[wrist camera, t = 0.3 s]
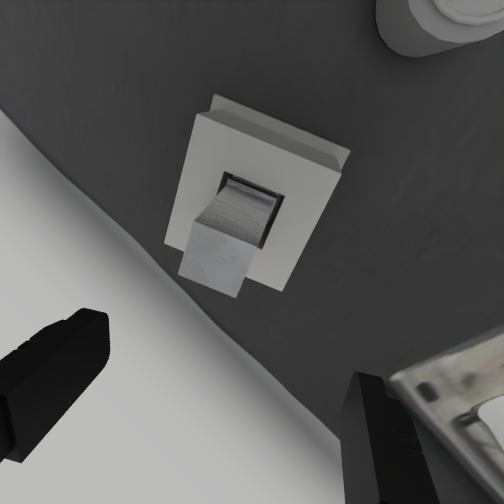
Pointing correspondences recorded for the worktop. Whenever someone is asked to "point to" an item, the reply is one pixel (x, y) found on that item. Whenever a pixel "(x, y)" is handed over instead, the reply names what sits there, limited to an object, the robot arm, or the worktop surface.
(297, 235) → the stand base
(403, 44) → the can
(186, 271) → the column
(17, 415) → the robot arm
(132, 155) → the worktop surface
